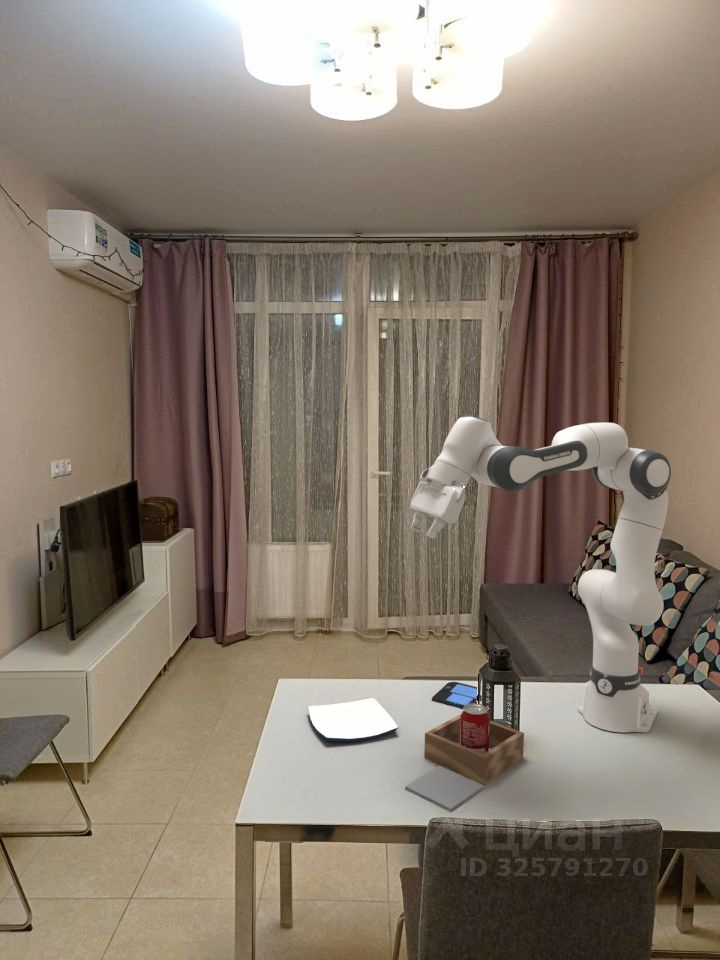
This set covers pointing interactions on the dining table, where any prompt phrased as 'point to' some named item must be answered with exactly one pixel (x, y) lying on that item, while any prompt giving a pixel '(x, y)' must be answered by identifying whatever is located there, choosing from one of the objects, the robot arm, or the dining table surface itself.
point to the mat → (444, 788)
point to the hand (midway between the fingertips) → (421, 533)
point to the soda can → (475, 727)
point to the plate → (351, 720)
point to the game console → (456, 695)
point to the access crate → (471, 762)
